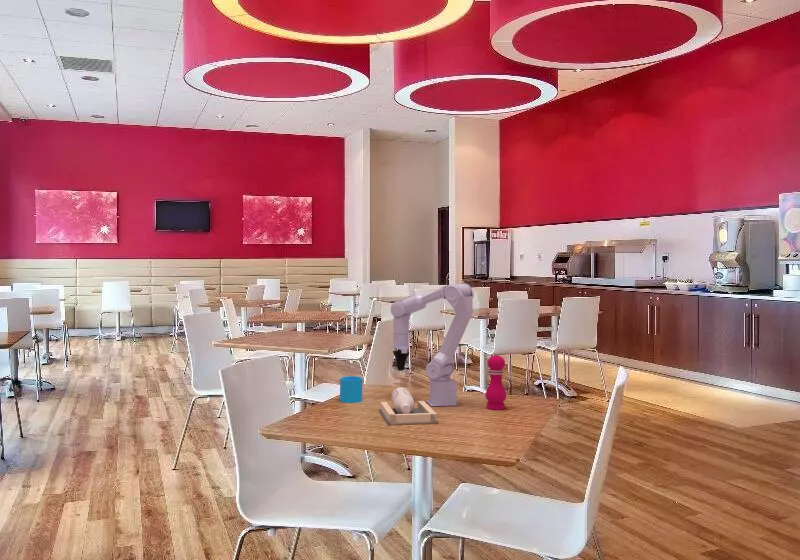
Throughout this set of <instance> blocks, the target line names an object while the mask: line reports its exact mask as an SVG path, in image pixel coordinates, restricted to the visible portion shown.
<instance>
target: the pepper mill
mask: <svg viewBox="0 0 800 560" xmlns="http://www.w3.org/2000/svg"><path fill="white" fill-rule="evenodd" d="M493 354H494V355H492V356H490V357H489V358H488V359H487V366H488V367H489V369H488V371H489V372H488V374H489V375H490V378H489V379H490V380H489V384H488V386H487V388H486V391H485V396H484V397H485V399H486V400H487V402H486V409H488V410H493V411H502V410H505V408H506V404H505V402H504V401H505V400H506V399H507V392H506V389H505V387H504V384H503V374H504V368H505V365H506V360H505V358H504V357H502V356H501V355H500V352H499V350H495V351H494V352H493Z"/></svg>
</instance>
